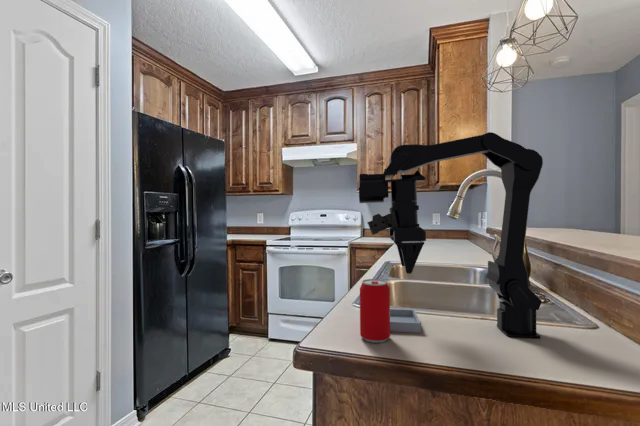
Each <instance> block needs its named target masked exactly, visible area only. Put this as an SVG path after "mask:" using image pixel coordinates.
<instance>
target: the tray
mask: <svg viewBox="0 0 640 426" xmlns="http://www.w3.org/2000/svg"><path fill="white" fill-rule="evenodd" d="M421 324H422V323H421V321H420V319H419V317H418V315H417V313H416V310H415V309H411V308H410V309H409V308H403V309H402V308H390V332H395V333H396V332H398V333H399V332H400V333H416V334H418V333H420V334H421V332H422V331H421V330H422V329H421V327H422V326H421Z"/></svg>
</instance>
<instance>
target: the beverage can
mask: <svg viewBox="0 0 640 426" xmlns="http://www.w3.org/2000/svg"><path fill="white" fill-rule="evenodd" d="M390 290H391V289H390V287H389V285H388V281H386V280H385V279H379V278H368V279H364V280H362V282H361V285H360V287H359V334H360V337H361V339H364V340H365V341H366V342H369V343H373V344H378V343H380V344H381V343H384V342H386V341H387V340H389V339H390V338H391V331H390V309H391V298H390V296H391V295H390V292H391V291H390Z"/></svg>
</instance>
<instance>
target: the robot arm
mask: <svg viewBox="0 0 640 426" xmlns="http://www.w3.org/2000/svg"><path fill="white" fill-rule="evenodd" d="M478 154H481V155H483V156H484V157H486V159H488V161H489V162H491V163H492V164H493V165H494V166H495V167H496V168H497V167H498V168H499V169H500V173H501V175H500V176H501V181H502V184H503V188H504V190H505V198H504V207H503V215H502V225H501V234H500V244H499V252H498V256H497V257H496V259H495V260H494V261H492V260H491V261H490V260H488V261H487V274H486V276H485V279H487V281H488V284H489V285H488V286H489V287H490V288H491V290H492V291H494V292H495V293H496V296H497V297H498V299H499V300H500V301H499V308H498V307H497V308H496V318H497V319H496V322H497V323H496V327H497V328H498V329H499V330H500V331H501V332H502V333H503V334H504V335H506V336H507V337H515V338H516V337H517V338H533V339H534V338H536V339H540V338H541V334H539V333H538V332H537V311H539V310H540V307H541V305H542V303H543V301H542V299H541V298H539V297H538V295H536V293H534V291H532V290H531V289H530V284H529V273H528V271H527V266H526V264H525V263H526V262H525V261H524V251H525V243H526V233H527V226H528V225H527V224H528V219H529V218H528V217H529V216H528V215H529V209H530V208H529V207H530V199H531V198H530V197H531V192H532V191H533V189H534V188H535V185H536V184H537V182H538V180H539V178H540V175H541V172H542V168H543V164H544V161H543V160H544V158H543V156H542V155H540V154H539V152H538V151H536V150H534V149H531V148H526V147H524V146H523V145H521V144H519V143H517V142H515V141H511V140H509V139H506V138H504V137H502V136H501V135H498V134H497V133H495V132H492V131H491V132H490V131H489V132H485V133H484V134H480V135H474V136H470V137H464V138H460V139H455V140H448V141H445V142H438V143H434V144H417V143H415V144H400V145H398V146H396V147H395V148H394V149H393V150H392V152H391V155H390V157H389V160H388V161H389V164H388V166H387V168H384V170H383V173H373V174H372V173H371V174H370V173H360V174H359V187H358V200H359V204H372V203H373V204H374V203H375V204H376V203H384V202H385V199H388V198H389V184H390V199H391V200H390V202H391V204H390V207H389V213H386V214H383V215H381V214H380V213H377V214H373V215H372V218H371V219H372V220H369V221H366V222H367V224H368V227H369V230H370V232H371V235H376V234H379V232H381V231H385V230H386V229H388V236H389V238H390V239H391V241H393V242H394V244H395V245H396V249H397V252H398V255H399V260H400V264H401V267H404V268H405V269H404V270H405V273H406V274H409V275H410V274H412V273H413V271H414V268H415V266H416V263H417V260H418V258H419V256H420V253H421V251H422V249H423V247H424V245H425V242H426V241H427V233H426V231H425V230H424V229H423V228H422V227H421V226H420V223H419V220H418V211H419V210H420V208H419V207H420V206H419V205H418V193H417V192H418V190H417V182H424V181H425V180H426V177H425V176H424V175H423V174H421V172H420V171H419V170H417V169H419V168H422V167H424V166H426V165H429V164H432V163H436V162H443V161H449V160H453V159H458V158H463V157H468V156H474V155H478ZM414 170H415V171H414ZM411 171H414V173H413V174H412V173H410V174H407V173H408V172H411ZM398 174H400V176H399V178H396V179H395V178H394V177H395V176H396V175H398ZM392 178H394V179H392Z"/></svg>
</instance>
